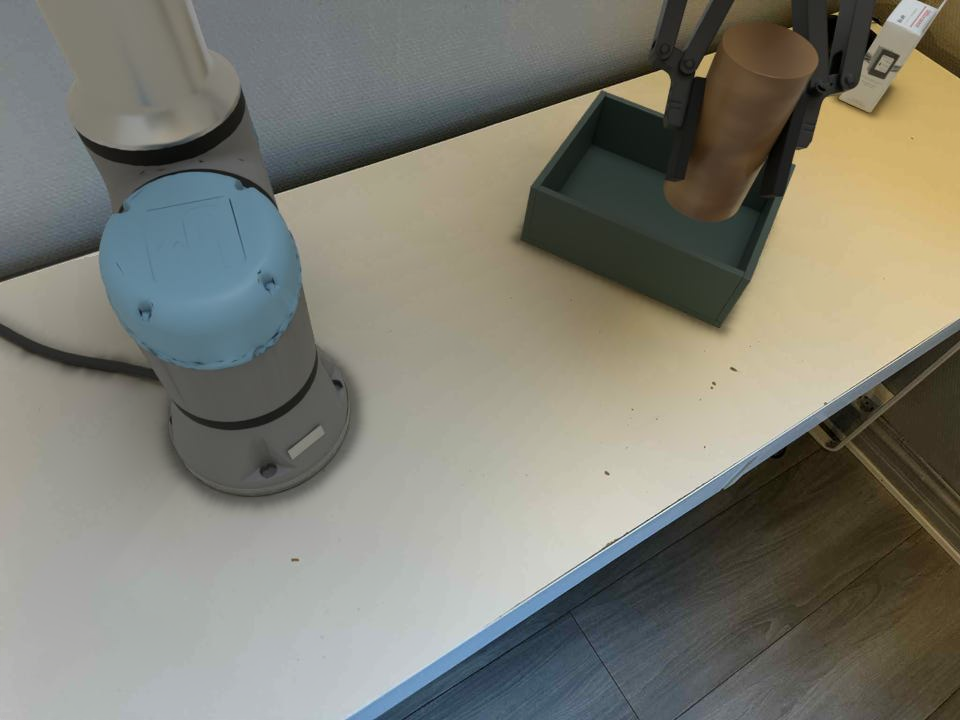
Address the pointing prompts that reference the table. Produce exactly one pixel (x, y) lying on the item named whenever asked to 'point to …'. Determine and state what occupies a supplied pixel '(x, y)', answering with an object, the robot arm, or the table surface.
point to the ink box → (890, 52)
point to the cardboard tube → (741, 116)
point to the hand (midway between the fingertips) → (722, 187)
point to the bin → (642, 214)
